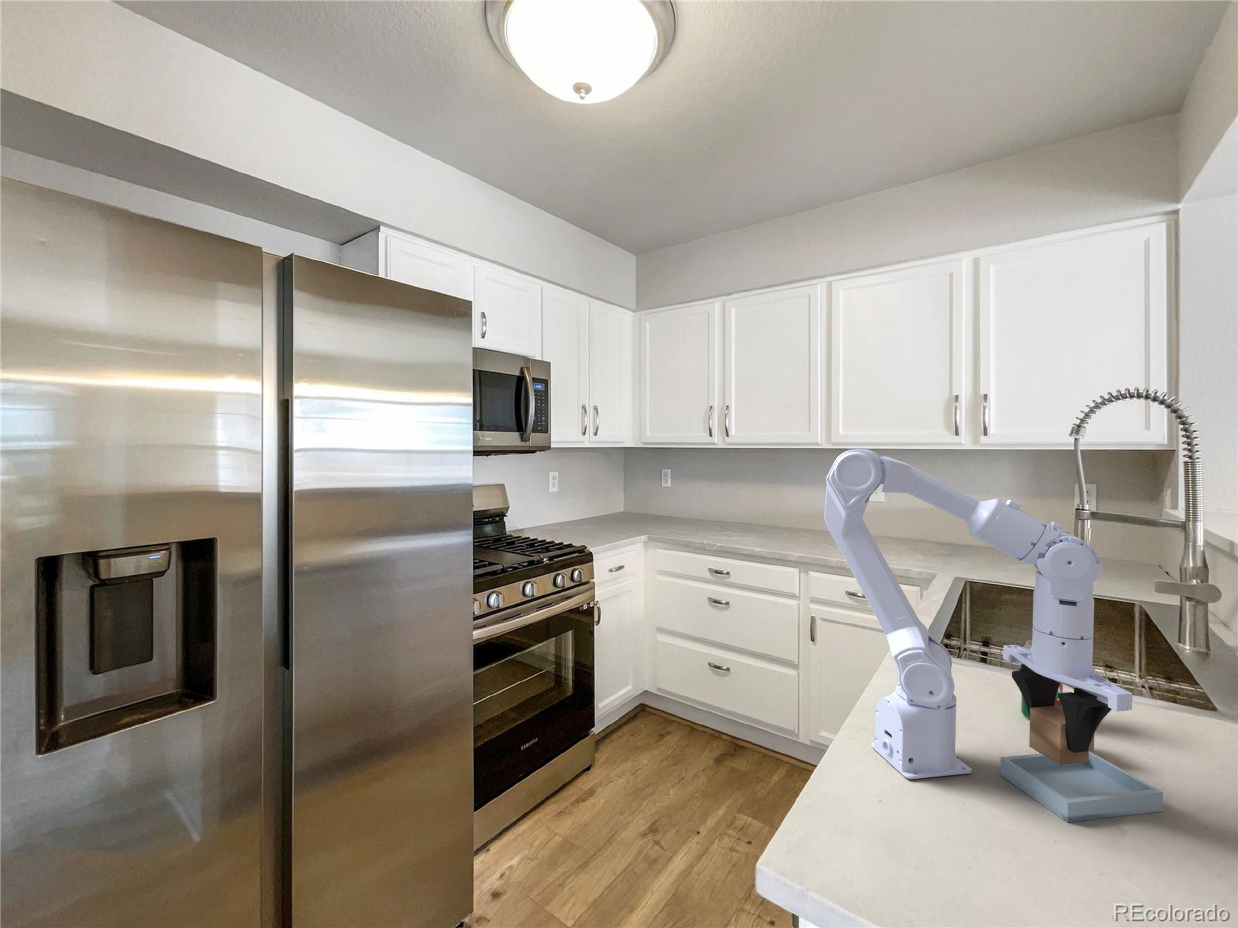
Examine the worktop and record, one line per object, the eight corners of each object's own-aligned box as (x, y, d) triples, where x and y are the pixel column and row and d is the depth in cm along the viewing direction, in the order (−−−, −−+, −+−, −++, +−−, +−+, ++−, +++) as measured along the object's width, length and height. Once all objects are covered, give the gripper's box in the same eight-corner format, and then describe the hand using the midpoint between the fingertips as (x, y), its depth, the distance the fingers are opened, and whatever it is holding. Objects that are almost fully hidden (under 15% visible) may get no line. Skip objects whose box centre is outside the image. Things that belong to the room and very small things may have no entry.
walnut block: (1088, 761, 64) (1089, 721, 64) (1059, 764, 63) (1060, 723, 63) (1056, 743, 68) (1057, 705, 68) (1029, 746, 67) (1030, 707, 67)
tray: (1067, 822, 61) (1067, 802, 61) (1000, 774, 70) (1000, 757, 70) (1162, 810, 63) (1163, 791, 63) (1085, 765, 72) (1085, 748, 71)
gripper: (1157, 652, 58) (1153, 772, 59) (1035, 611, 73) (1033, 708, 73) (1102, 655, 57) (1099, 778, 58) (990, 614, 72) (988, 712, 72)
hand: (1059, 739), depth 65 cm, fingers closed on walnut block, 4 cm apart
